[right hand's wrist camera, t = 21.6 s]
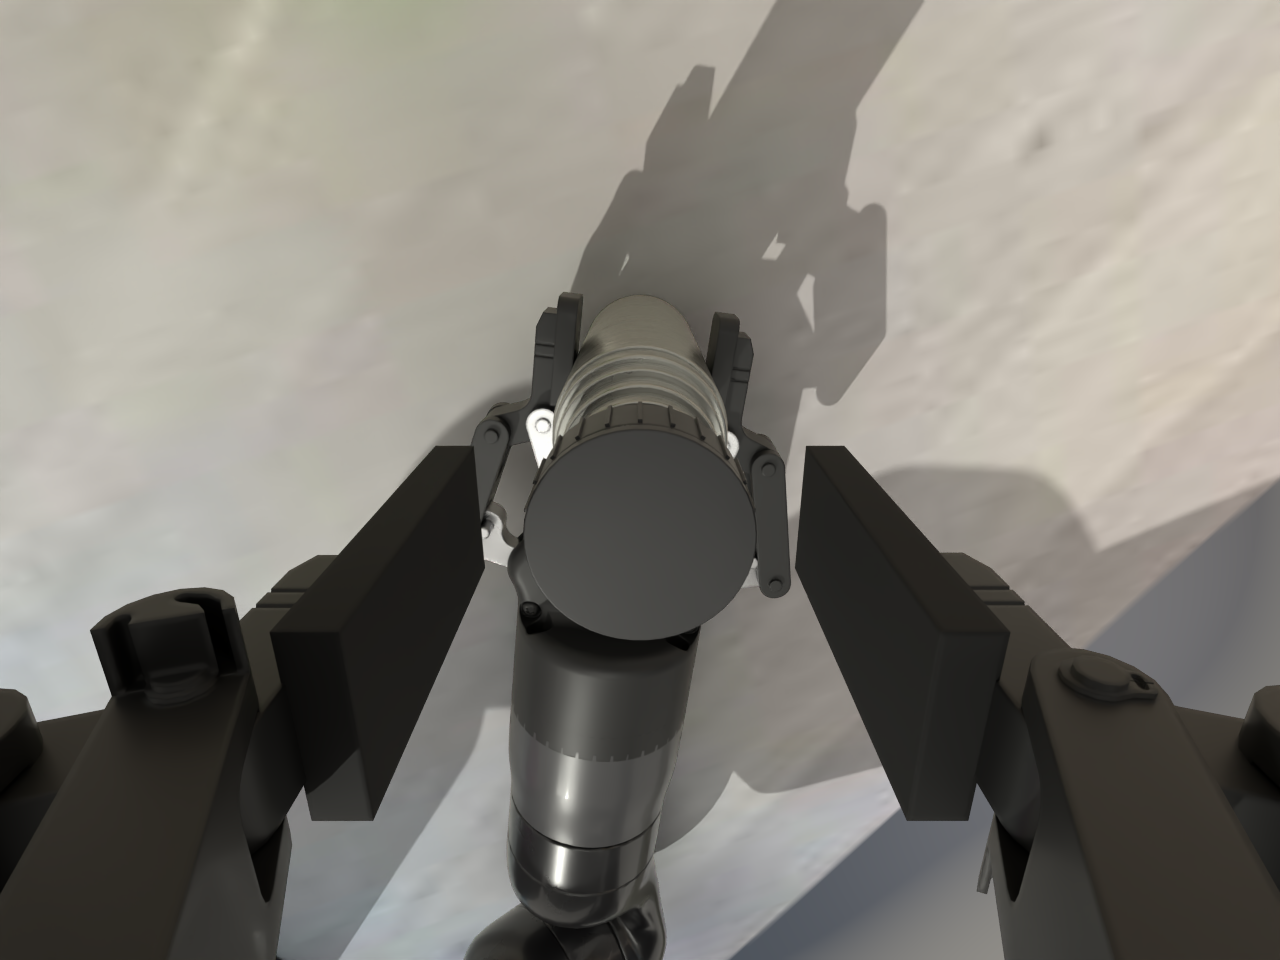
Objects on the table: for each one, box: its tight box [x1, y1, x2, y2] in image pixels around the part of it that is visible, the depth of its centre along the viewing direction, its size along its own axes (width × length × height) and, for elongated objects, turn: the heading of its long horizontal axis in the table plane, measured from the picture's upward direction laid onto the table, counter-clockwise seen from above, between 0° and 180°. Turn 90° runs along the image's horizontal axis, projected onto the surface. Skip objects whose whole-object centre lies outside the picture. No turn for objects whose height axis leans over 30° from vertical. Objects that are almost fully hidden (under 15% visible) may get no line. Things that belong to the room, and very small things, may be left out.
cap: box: [523, 401, 757, 640], centre depth 13 cm, size 4×4×2 cm
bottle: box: [552, 295, 728, 447], centre depth 22 cm, size 5×5×19 cm
